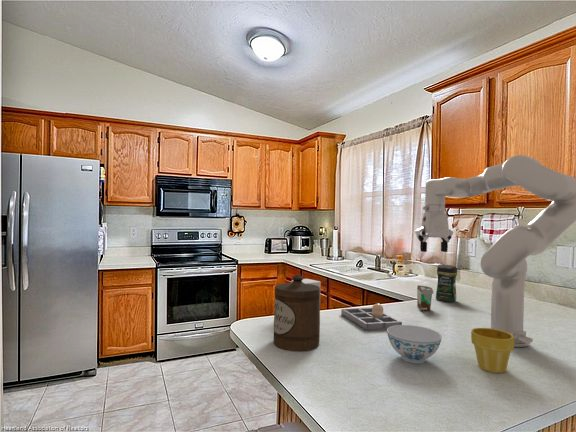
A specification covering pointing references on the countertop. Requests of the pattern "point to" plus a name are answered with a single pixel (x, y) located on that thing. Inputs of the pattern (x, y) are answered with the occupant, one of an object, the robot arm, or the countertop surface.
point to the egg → (377, 310)
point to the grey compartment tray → (369, 319)
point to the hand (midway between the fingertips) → (433, 251)
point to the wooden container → (297, 315)
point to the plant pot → (492, 348)
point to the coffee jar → (446, 283)
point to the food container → (424, 297)
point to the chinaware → (414, 342)
